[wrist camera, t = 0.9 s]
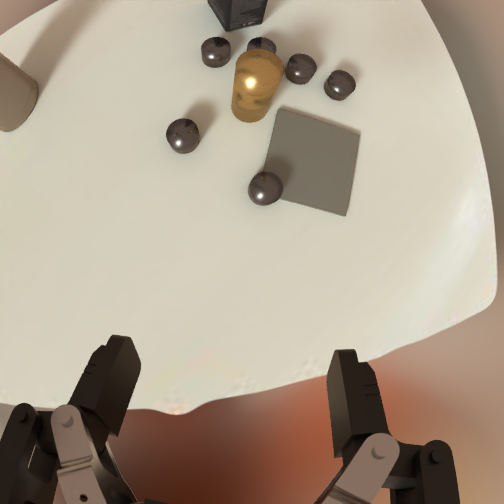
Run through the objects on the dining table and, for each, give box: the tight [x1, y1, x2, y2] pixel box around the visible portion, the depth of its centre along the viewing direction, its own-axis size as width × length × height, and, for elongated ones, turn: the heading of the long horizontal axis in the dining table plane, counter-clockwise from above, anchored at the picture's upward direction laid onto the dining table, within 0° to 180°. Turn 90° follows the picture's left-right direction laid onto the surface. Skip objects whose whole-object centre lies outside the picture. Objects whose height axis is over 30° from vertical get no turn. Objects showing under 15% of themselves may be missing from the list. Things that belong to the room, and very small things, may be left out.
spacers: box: [166, 37, 356, 206], centre depth 32 cm, size 21×22×2 cm
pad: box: [263, 109, 360, 216], centre depth 34 cm, size 11×11×1 cm
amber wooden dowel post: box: [231, 49, 284, 123], centre depth 28 cm, size 4×4×10 cm
